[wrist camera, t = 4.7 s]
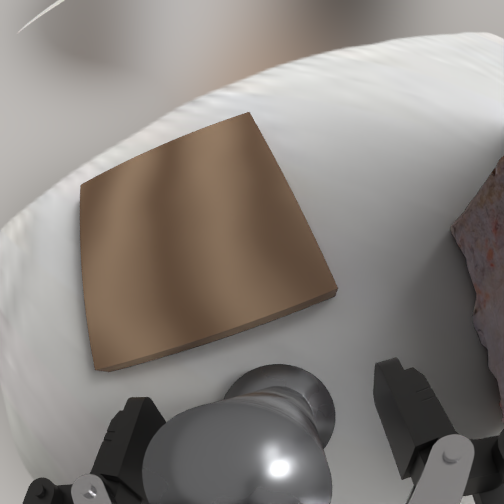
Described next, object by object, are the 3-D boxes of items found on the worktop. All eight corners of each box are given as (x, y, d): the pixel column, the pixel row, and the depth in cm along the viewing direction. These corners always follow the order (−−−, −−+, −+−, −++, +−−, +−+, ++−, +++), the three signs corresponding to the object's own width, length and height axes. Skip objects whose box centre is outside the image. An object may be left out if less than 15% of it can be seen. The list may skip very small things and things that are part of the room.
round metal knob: (311, 349, 15) (332, 292, 5) (347, 444, 13) (420, 544, 3) (211, 383, 15) (68, 378, 5) (244, 476, 13) (155, 592, 3)
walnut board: (252, 126, 22) (249, 111, 21) (334, 296, 16) (338, 288, 15) (90, 195, 22) (80, 185, 21) (109, 372, 16) (95, 370, 15)
